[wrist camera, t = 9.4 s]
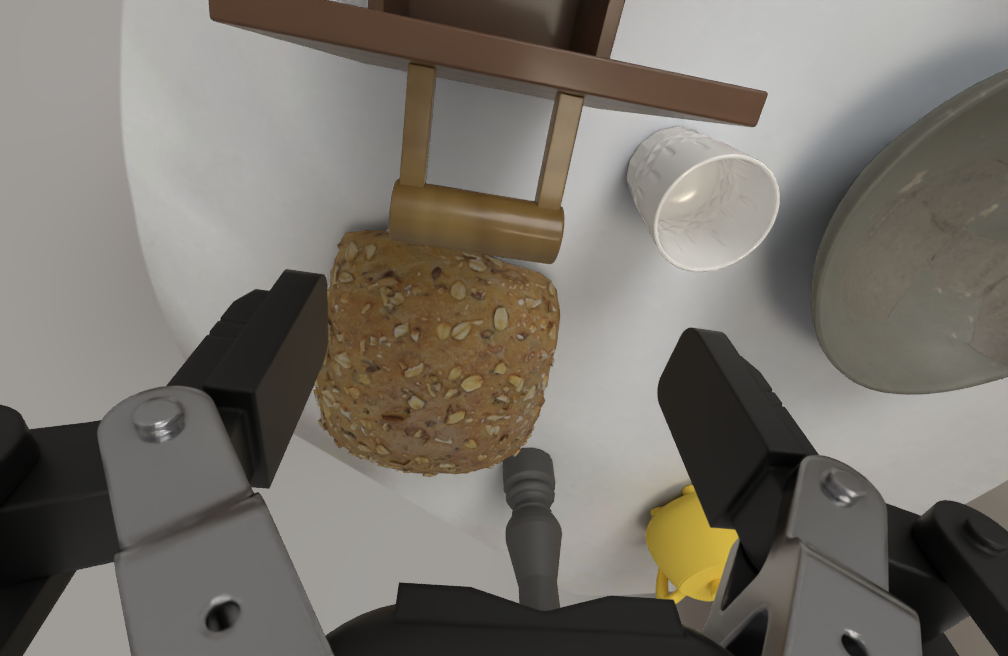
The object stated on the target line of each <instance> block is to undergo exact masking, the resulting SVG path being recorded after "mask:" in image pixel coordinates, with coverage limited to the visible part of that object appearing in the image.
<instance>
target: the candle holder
mask: <svg viewBox="0 0 1008 656" xmlns="http://www.w3.org/2000/svg"><path fill="white" fill-rule="evenodd" d="M503 481H504V492H505V493H506V502H507V504H508V505H509V506H510V508H511V509H512V510H513V511H512V517H511V519H510V520H509V522H508V524H507V526H506V544H507V547H508V551H509V554H510V558H511V561H512V565H513V568H514V571H515V575H516V579H517V583H518V586H519V603H520V604H522V605H525V606H528V607H531V608H534V609H537V610H542V611H548V610H553V609H558V608H560V603H559V595H558V586H557V577H558V567H559V557H560V547H561V538H562V530H561V527H560V524H559V522H558V521H557V519H556V518H555V516H554V515H553V514H552V513H551V509H550V507H551V505H552V503H553V502H554V496H555V493H554V490H555V477H554V470H553V463H552V459H551V458H550V456H549V455H548V454H547V453H545V452H544V451H542V450H539V449H535V448H522V449H521V451H520V452H519V453H518V454H517V455H516V456H513V455H511V456H510V457H508V458H506V459H505V460H504V461H503Z"/></svg>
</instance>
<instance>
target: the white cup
mask: <svg viewBox="0 0 1008 656" xmlns="http://www.w3.org/2000/svg"><path fill="white" fill-rule="evenodd" d="M627 183H628V186H629V189H630V193H631V196H632V198H633V200H634V203H635V205H636V207H637V209H638V211H639V213H640V215H641V217H642V220H643V222H644V224H645V225H646V227H647V229H648V231H649V233H650V234H651V236H652V238H653V240H654V242H655V244H656V245H657V247H658V249H659V251H660V252H661V254H662V255H663V256H664V258H665V259H666V260H667V261H669V262H670V263H671V264H673V265H674V266H676V267H678V268H681V269H684V270H687V271H693V272H708V271H714V270H718V269H722V268H725V267H727V266H730V265H732V264H734V263H736V262H738V261H740V260H741V259H743V258H744V257H746V256H747V255H748V254H750V253H751V252H752V251H753V250H754V249H755V248H757V247H758V245H759V244H760V243H761V242H762V241H763V240H764V239H765V237H766V236H767V234H768V233H769V231H770V230H771V228H772V226H773V224H774V222H775V219H776V217H777V213H778V209H779V203H780V193H779V187H778V183H777V181H776V178H775V177H774V175H773V173H772V172H771V171H770V169H769V168H768V167H767V166H766V165H764V164H763V163H762V162H760V161H759V160H757V159H755V158H753V157H751V156H749V155H747V154H745V153H743V152H741V151H739V150H737V149H735V148H733V147H731V146H729V145H727V144H725V143H723V142H721V141H719V140H717V139H714V138H712V137H710V136H707V135H705V134H702V133H699V132H697V131H694V130H690V129H687V128H683V127H680V126H677V127H672V128H668V129H663V130H659V131H657V132H656V133H654V134H653V135H651V136H650V137H649V138H647V139H646V140H644V141H643V142H642V143H641V144H640V145H639V147H638V148H637V150H636V151H635V153H634V155H633V156H632V158H631V159H630V162H629V168H628V173H627Z"/></svg>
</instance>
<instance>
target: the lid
mask: <svg viewBox="0 0 1008 656" xmlns="http://www.w3.org/2000/svg"><path fill="white" fill-rule="evenodd" d="M209 12H210V18H211V19H212V20H213V21H216V22H219V23H223V24H226V25H230V26H233V27H237V28H241V29H244V30H248V31H251V32H255V33H258V34H262V35H266V36H269V37H273V38H276V39H280V40H283V41H287V42H291V43H294V44H298V45H301V46H305V47H308V48H312V49H316V50H319V51H323V52H326V53H330V54H334V55H337V56H341V57H344V58H348V59H351V60H355V61H359V62H362V63H366V64H371V65H376V66H381V67H386V68H391V69H396V70H402V71H407V72H408V76H407V89H406V102H405V115H404V128H403V141H402V155H401V168H400V179H397V180H396V181H395V183H394V186H393V190H392V195H391V202H390V211H389V237H390V239H391V240H392V241H398V242H404V243H411V244H418V245H424V246H431V247H438V248H444V249H451V250H458V251H465V252H471V253H478V254H485V255H491V256H498V257H505V258H512V259H518V260H525V261H532V262H538V263H545V264H552V263H554V261H555V260H556V258H557V255H558V253H559V250H560V246H561V242H562V237H563V230H564V210H563V207H561V202H562V198H563V193H564V189H565V184H566V179H567V175H568V170H569V166H570V161H571V157H572V152H573V148H574V143H575V139H576V134H577V130H578V125H579V121H580V116H581V112H582V107H583V106H587V107H592V108H597V109H606V110H614V111H622V112H630V113H639V114H647V115H655V116H663V117H672V118H680V119H688V120H696V121H705V122H713V123H721V124H729V125H738V126H746V127H755V126H756V125H757V123H758V120H759V117H760V114H761V112H762V109H763V106H764V104H765V101H766V98H767V95H768V93H767V92H766V91H761V90H756V89H751V88H747V87H742V86H737V85H732V84H727V83H723V82H718V81H713V80H708V79H703V78H699V77H694V76H689V75H684V74H679V73H675V72H670V71H665V70H660V69H655V68H651V67H646V66H641V65H636V64H631V63H627V62H622V61H617V60H612V59H607V58H603V57H598V56H593V55H588V54H583V53H579V52H574V51H569V50H564V49H559V48H555V47H550V46H545V45H540V44H535V43H531V42H526V41H521V40H516V39H511V38H507V37H502V36H497V35H492V34H487V33H483V32H478V31H473V30H468V29H463V28H459V27H454V26H449V25H444V24H439V23H435V22H430V21H425V20H420V19H415V18H411V17H406V16H401V15H396V14H391V13H387V12H382V11H377V10H372V9H367V8H363V7H358V6H353V5H348V4H344V3H339V2H334V1H329V0H209ZM437 77H438V78H443V79H448V80H453V81H458V82H463V83H469V84H474V85H479V86H484V87H489V88H494V89H499V90H505V91H510V92H515V93H520V94H525V95H530V96H536V97H541V98H546V99H551V100H554V105H553V110H552V115H551V120H550V125H549V130H548V135H547V141H546V146H545V151H544V156H543V161H542V166H541V171H540V176H539V181H538V186H537V191H536V196H535V201H529V200H523V199H517V198H511V197H505V196H499V195H493V194H487V193H481V192H475V191H469V190H463V189H457V188H451V187H445V186H439V185H433V184H427V183H426V178H427V168H428V158H429V148H430V138H431V128H432V118H433V108H434V98H435V88H436V78H437Z"/></svg>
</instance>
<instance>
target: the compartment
mask: <svg viewBox="0 0 1008 656" xmlns="http://www.w3.org/2000/svg"><path fill="white" fill-rule="evenodd" d="M624 3H625V0H368V9H372V10H377V11H382V12H387V13H391V14H396V15H401V16H406V17H411V18H415V19H420V20H425V21H430V22H435V23H439V24H444V25H449V26H454V27H459V28H463V29H468V30H473V31H478V32H483V33H487V34H492V35H497V36H502V37H507V38H511V39H516V40H521V41H526V42H531V43H535V44H540V45H545V46H550V47H555V48H559V49H564V50H569V51H574V52H579V53H583V54H588V55H593V56H598V57H603V58H607V59H610V55H611V51H612V47H613V44H614V40H615V36H616V33H617V29H618V25H619V21H620V18H621V14H622V10H623V7H624Z"/></svg>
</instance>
